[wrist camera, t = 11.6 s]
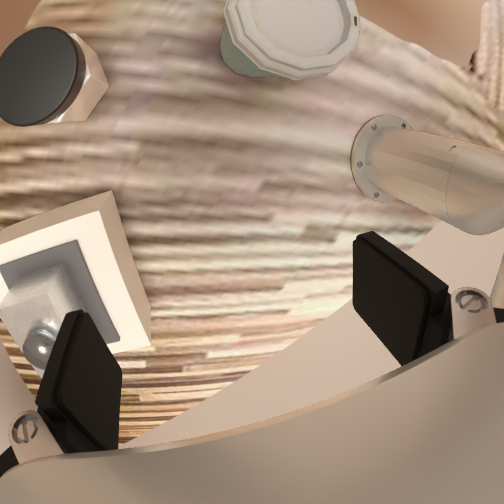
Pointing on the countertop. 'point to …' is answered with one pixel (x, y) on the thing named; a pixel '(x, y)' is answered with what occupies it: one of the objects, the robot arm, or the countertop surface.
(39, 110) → the jar
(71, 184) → the countertop surface
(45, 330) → the housing
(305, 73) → the disposable coffee cup
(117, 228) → the stand
